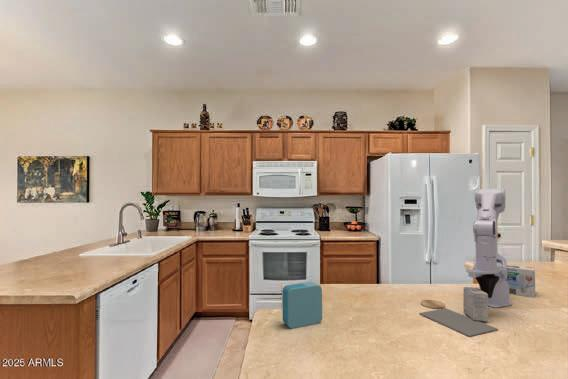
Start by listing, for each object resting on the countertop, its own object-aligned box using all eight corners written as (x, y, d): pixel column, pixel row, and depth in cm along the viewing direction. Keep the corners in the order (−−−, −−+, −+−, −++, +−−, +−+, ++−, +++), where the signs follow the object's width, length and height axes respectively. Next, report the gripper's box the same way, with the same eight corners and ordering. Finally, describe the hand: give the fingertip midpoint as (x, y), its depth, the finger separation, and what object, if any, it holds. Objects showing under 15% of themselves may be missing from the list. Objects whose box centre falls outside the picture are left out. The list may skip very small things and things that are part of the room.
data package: (315, 317, 98) (315, 281, 98) (322, 322, 94) (322, 284, 94) (282, 324, 93) (282, 285, 93) (288, 329, 89) (287, 289, 89)
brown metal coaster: (432, 300, 114) (432, 298, 114) (450, 307, 106) (450, 305, 106) (416, 302, 111) (415, 301, 111) (433, 310, 103) (433, 308, 103)
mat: (445, 309, 104) (445, 308, 104) (498, 330, 87) (498, 328, 87) (419, 314, 100) (419, 313, 100) (469, 337, 83) (469, 335, 83)
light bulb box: (501, 292, 122) (500, 266, 122) (503, 289, 127) (502, 263, 127) (535, 298, 115) (534, 270, 115) (535, 294, 120) (534, 267, 120)
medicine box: (488, 322, 92) (488, 294, 93) (472, 320, 93) (473, 292, 93) (477, 313, 100) (477, 287, 100) (462, 312, 101) (463, 286, 101)
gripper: (488, 252, 105) (490, 291, 105) (459, 255, 100) (460, 296, 100) (509, 256, 99) (511, 297, 98) (479, 259, 94) (481, 302, 93)
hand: (487, 297), depth 99 cm, fingers closed
